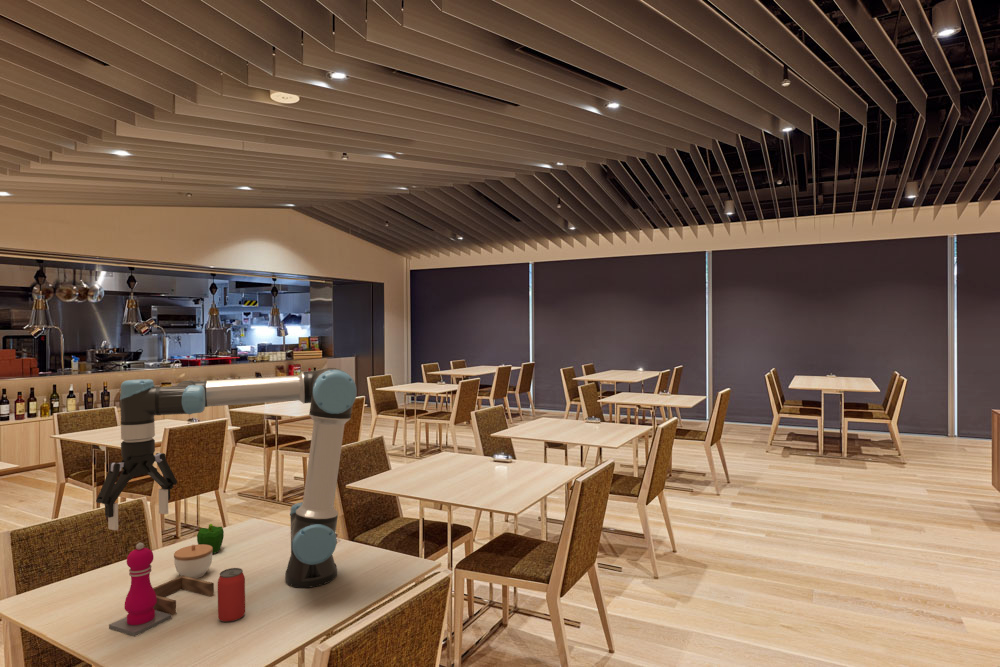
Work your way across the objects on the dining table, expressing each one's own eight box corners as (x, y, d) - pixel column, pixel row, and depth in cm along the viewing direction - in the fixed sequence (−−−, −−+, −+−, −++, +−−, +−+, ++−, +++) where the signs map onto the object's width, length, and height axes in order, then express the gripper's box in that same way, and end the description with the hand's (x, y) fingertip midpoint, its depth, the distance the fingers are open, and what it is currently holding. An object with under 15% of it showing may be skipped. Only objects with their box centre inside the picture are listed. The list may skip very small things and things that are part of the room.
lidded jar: (220, 568, 191) (219, 539, 191) (199, 583, 180) (199, 552, 180) (188, 567, 192) (187, 538, 192) (166, 582, 181) (165, 551, 181)
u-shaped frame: (213, 595, 172) (213, 582, 172) (172, 615, 160) (172, 601, 160) (182, 587, 178) (182, 575, 178) (140, 606, 166) (140, 593, 166)
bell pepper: (200, 548, 209) (199, 520, 209) (225, 546, 211) (225, 518, 211) (194, 557, 201) (193, 527, 201) (220, 555, 203) (220, 525, 203)
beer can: (228, 625, 154) (227, 579, 154) (212, 619, 158) (212, 573, 158) (250, 614, 160) (250, 570, 160) (235, 608, 164) (234, 565, 163)
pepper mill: (163, 615, 158) (162, 539, 158) (139, 628, 151) (138, 549, 151) (142, 611, 161) (141, 536, 160) (117, 623, 154) (116, 546, 153)
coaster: (171, 618, 158) (171, 614, 158) (134, 636, 149) (134, 632, 149) (146, 611, 163) (146, 607, 162) (109, 628, 153) (109, 624, 153)
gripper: (171, 430, 168) (173, 506, 169) (78, 447, 146) (80, 534, 146) (190, 432, 165) (191, 509, 166) (98, 449, 143) (99, 538, 143)
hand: (139, 521), depth 156 cm, fingers open, 13 cm apart
